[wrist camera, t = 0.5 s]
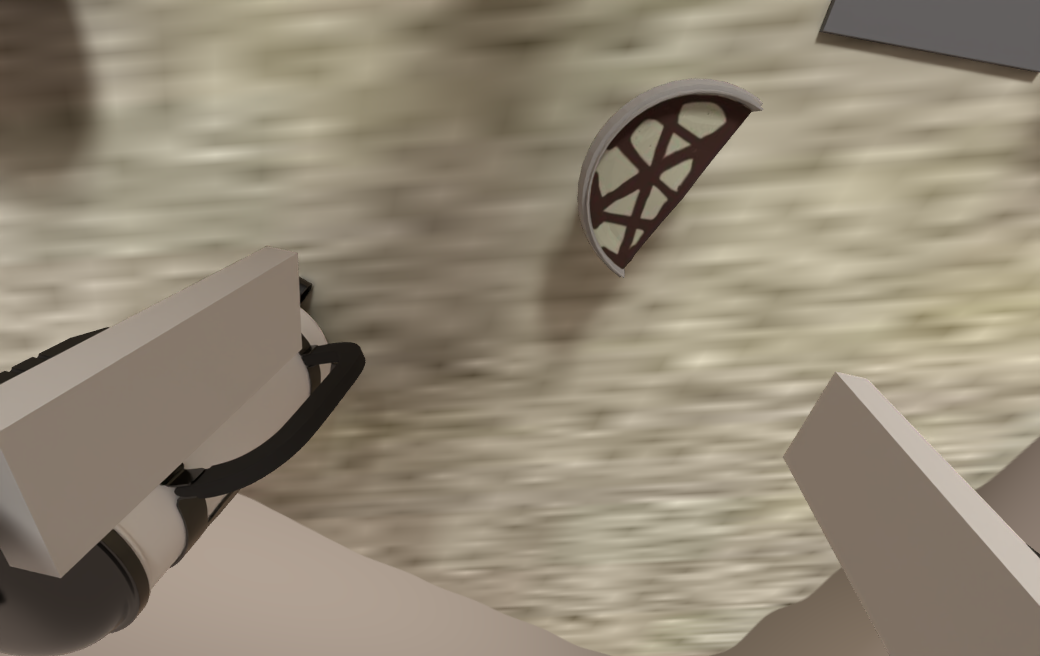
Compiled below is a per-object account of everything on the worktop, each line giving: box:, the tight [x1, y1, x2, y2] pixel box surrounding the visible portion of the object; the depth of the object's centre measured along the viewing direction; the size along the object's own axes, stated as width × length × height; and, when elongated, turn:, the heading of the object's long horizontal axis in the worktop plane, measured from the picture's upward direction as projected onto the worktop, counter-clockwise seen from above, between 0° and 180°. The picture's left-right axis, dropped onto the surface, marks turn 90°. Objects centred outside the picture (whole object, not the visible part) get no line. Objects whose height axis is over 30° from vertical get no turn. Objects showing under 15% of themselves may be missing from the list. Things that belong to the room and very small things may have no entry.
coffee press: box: [0, 277, 365, 656], centre depth 33 cm, size 17×16×30 cm
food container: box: [577, 79, 763, 278], centre depth 30 cm, size 12×6×10 cm, turn 147°
